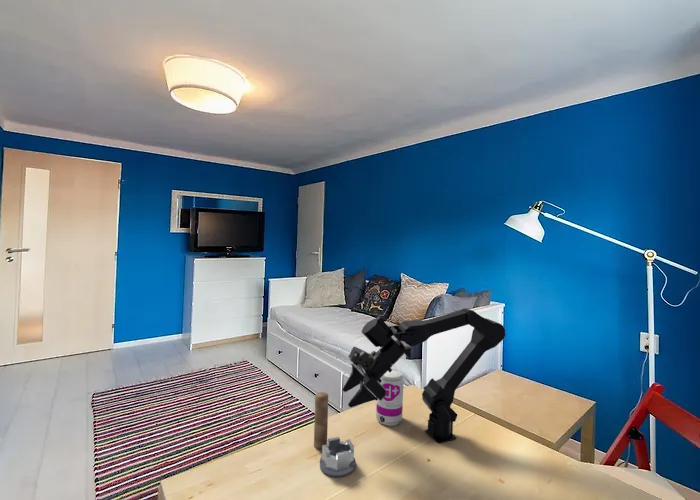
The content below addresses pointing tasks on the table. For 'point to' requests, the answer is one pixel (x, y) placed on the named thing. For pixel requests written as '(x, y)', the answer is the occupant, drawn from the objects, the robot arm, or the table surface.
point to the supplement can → (391, 399)
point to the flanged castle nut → (337, 458)
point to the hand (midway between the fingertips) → (346, 398)
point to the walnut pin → (320, 420)
